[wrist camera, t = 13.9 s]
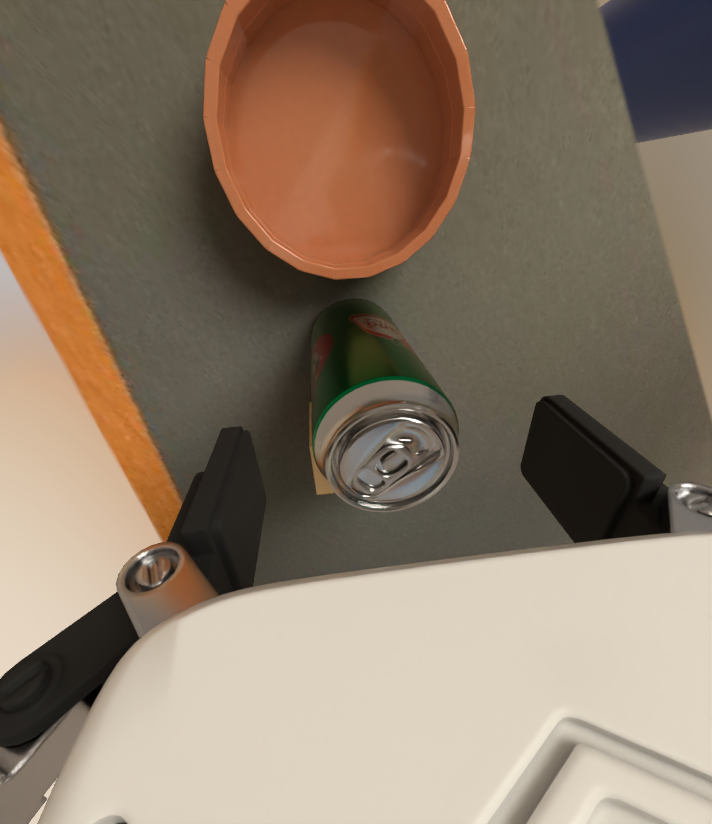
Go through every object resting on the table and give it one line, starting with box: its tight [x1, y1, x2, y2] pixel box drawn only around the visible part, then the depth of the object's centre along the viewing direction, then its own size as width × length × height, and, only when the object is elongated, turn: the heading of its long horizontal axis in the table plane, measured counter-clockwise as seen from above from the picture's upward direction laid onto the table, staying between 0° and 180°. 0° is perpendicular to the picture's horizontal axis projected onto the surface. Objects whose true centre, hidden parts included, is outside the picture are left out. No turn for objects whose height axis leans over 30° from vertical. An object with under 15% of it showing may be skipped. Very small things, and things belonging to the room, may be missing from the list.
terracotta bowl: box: [203, 0, 475, 280], centre depth 15 cm, size 11×11×3 cm
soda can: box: [311, 299, 459, 512], centre depth 16 cm, size 5×5×12 cm
